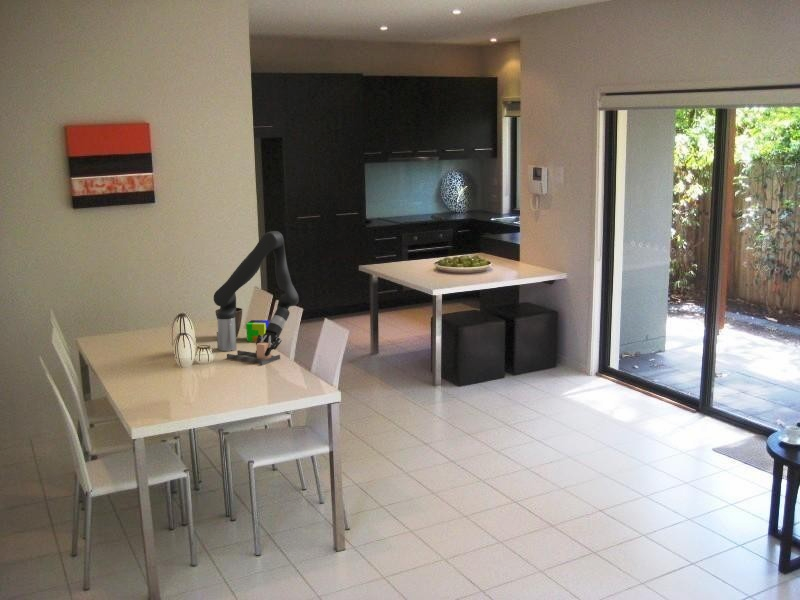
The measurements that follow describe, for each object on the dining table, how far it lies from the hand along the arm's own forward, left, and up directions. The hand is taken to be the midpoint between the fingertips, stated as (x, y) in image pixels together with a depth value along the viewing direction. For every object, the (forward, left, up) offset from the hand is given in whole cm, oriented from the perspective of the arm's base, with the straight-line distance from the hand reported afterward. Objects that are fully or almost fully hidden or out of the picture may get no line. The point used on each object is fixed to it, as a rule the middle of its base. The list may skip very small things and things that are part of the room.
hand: (261, 354), depth 415 cm
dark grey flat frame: (-8, +2, -5) cm, 10 cm away
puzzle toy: (-37, +41, -6) cm, 55 cm away
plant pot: (-54, +37, -5) cm, 65 cm away
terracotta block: (0, +2, -4) cm, 4 cm away
